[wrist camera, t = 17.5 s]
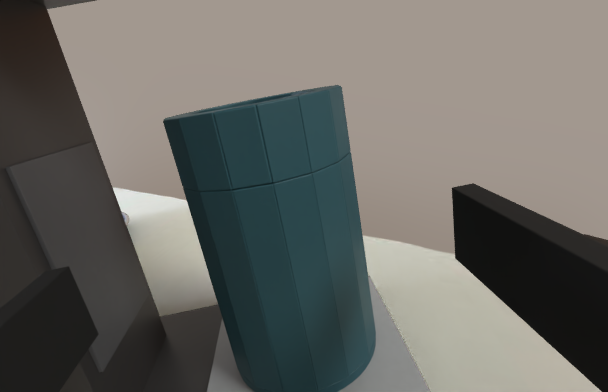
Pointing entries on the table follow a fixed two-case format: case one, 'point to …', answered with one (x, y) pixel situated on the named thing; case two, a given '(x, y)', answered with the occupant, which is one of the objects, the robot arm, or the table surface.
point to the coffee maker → (111, 238)
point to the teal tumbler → (281, 236)
